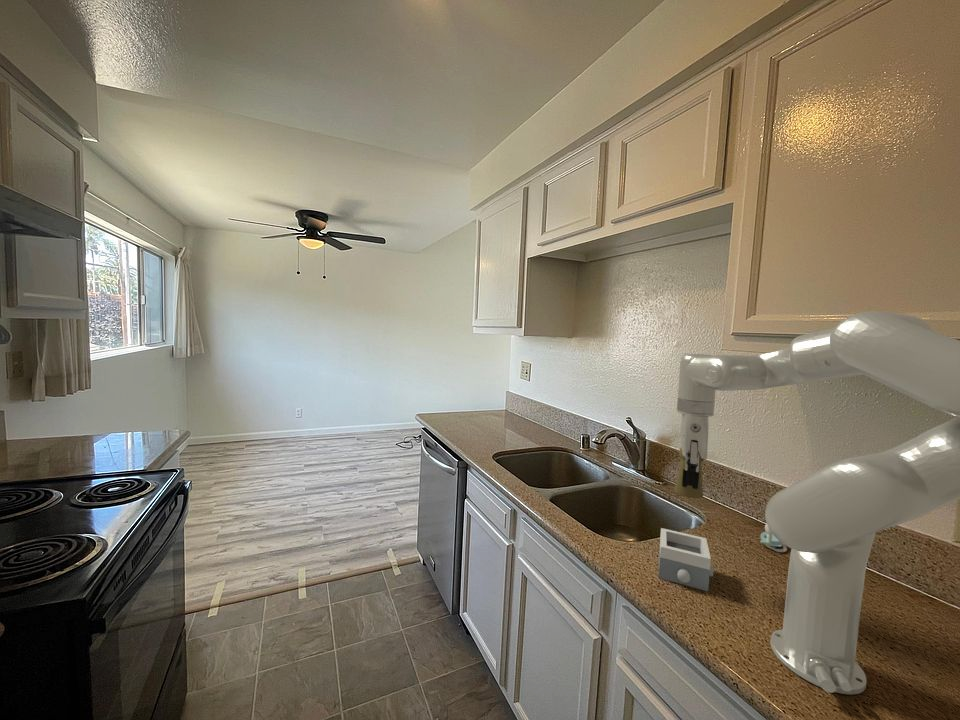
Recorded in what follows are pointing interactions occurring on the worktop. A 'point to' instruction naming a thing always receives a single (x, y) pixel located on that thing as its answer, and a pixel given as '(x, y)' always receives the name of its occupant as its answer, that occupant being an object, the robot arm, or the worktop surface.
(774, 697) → the worktop surface
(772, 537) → the pacifier
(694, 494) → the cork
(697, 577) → the grey plastic box
